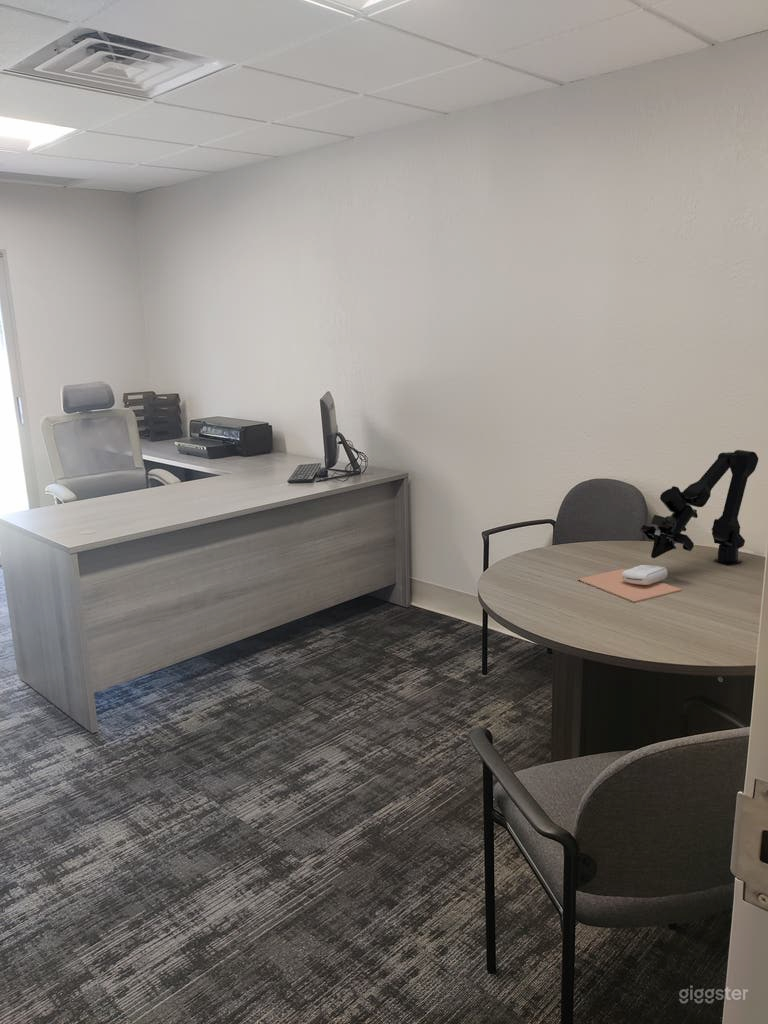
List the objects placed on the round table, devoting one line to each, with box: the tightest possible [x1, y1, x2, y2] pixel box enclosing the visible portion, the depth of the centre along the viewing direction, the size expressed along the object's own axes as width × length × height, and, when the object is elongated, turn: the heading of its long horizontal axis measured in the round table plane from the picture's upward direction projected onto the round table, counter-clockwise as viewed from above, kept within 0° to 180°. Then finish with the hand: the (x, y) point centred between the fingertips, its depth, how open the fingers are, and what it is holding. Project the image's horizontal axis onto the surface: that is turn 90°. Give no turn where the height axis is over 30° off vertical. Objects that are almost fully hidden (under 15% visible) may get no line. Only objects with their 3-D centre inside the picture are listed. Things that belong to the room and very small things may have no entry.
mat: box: [577, 568, 683, 603], centre depth 251 cm, size 20×26×1 cm
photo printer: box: [622, 564, 669, 585], centre depth 251 cm, size 10×4×12 cm
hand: (652, 557), depth 253 cm, fingers closed
